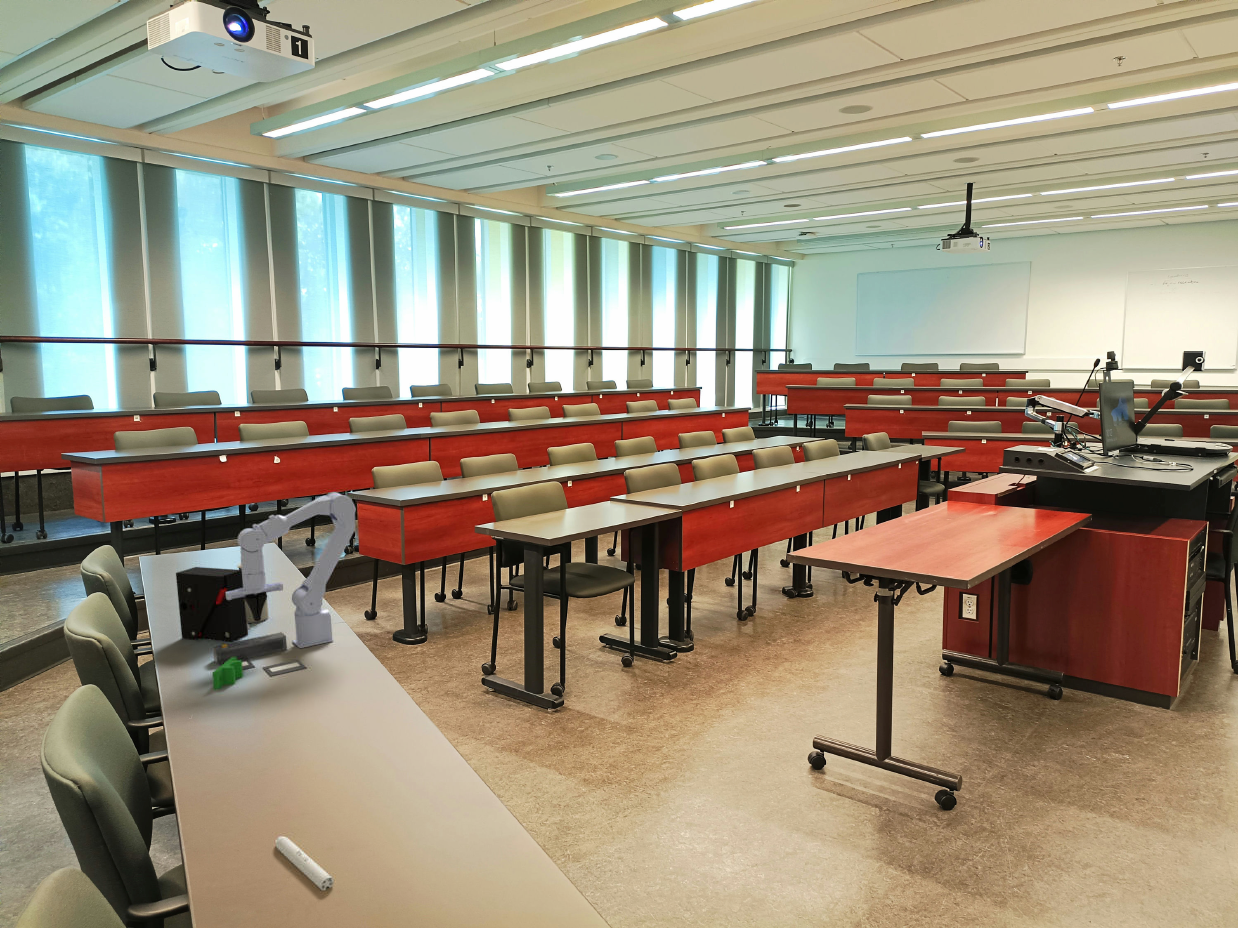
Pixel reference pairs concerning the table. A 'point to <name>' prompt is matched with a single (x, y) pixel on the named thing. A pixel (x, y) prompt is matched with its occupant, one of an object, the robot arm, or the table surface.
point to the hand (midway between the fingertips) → (257, 619)
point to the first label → (246, 664)
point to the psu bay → (250, 648)
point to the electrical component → (211, 604)
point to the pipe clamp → (227, 673)
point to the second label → (284, 667)
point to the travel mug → (249, 614)
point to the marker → (304, 863)
